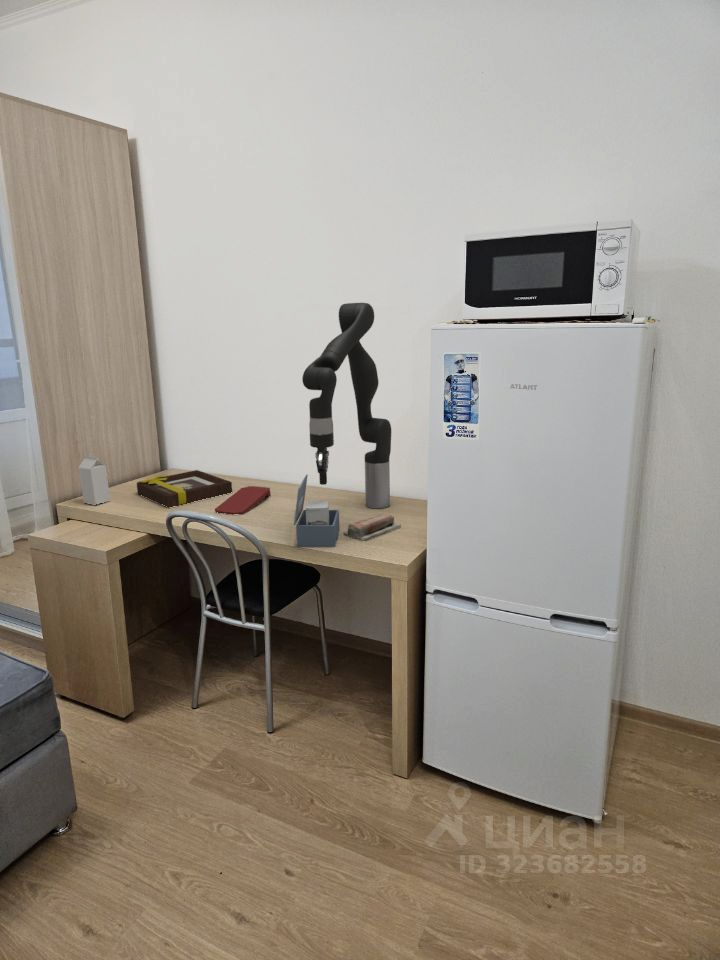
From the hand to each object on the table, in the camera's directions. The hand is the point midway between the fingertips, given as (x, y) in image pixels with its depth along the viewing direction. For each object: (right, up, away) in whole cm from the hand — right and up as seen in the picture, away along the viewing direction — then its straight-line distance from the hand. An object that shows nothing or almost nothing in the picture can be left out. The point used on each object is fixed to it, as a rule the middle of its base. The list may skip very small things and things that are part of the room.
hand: (323, 484), depth 206 cm
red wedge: (-33, -9, +41) cm, 53 cm away
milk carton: (-93, -8, +48) cm, 105 cm away
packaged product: (+16, -17, +8) cm, 25 cm away
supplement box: (-2, -19, +1) cm, 19 cm away
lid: (-7, -5, 0) cm, 9 cm away
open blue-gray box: (-2, -18, +4) cm, 18 cm away
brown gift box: (-61, -5, +58) cm, 84 cm away
